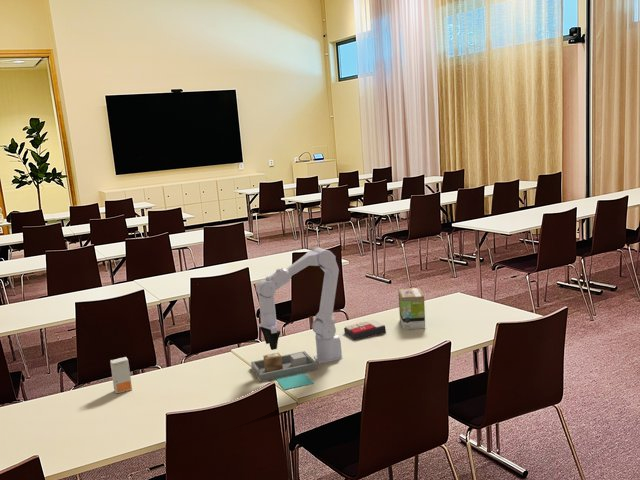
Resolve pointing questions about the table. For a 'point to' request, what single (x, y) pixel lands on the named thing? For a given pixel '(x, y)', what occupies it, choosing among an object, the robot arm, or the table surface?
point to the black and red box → (365, 329)
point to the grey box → (298, 359)
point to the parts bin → (287, 368)
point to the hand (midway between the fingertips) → (271, 346)
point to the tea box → (411, 308)
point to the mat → (294, 381)
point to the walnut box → (273, 362)
